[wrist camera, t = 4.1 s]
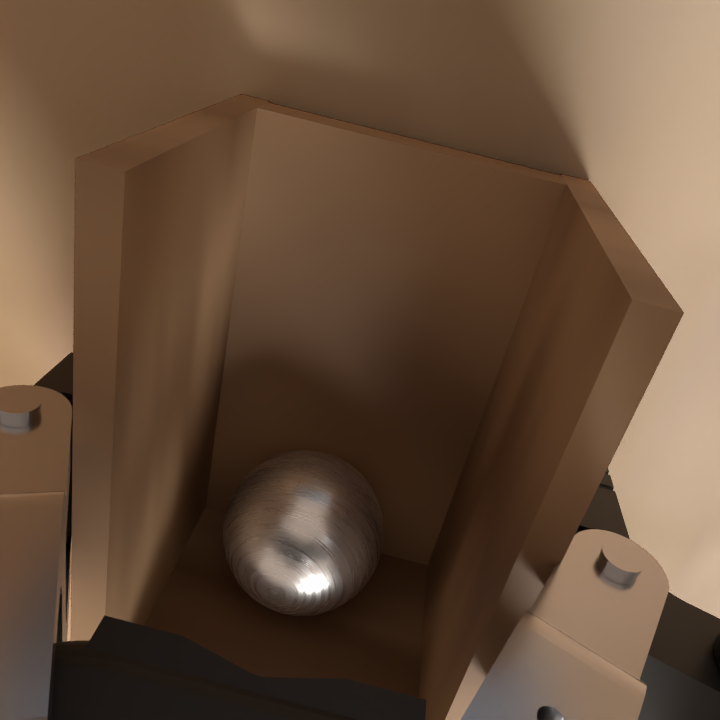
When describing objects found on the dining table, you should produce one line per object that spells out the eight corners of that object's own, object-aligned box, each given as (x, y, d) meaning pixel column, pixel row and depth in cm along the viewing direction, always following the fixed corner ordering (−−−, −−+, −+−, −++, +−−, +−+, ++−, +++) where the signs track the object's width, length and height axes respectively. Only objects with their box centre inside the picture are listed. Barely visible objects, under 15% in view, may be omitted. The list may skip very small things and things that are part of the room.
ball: (316, 393, 13) (251, 495, 11) (431, 491, 13) (394, 612, 11) (237, 469, 15) (164, 573, 12) (341, 554, 15) (291, 672, 13)
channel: (444, 567, 16) (434, 819, 11) (191, 500, 16) (69, 720, 11) (590, 181, 11) (683, 312, 6) (241, 93, 11) (76, 159, 7)
